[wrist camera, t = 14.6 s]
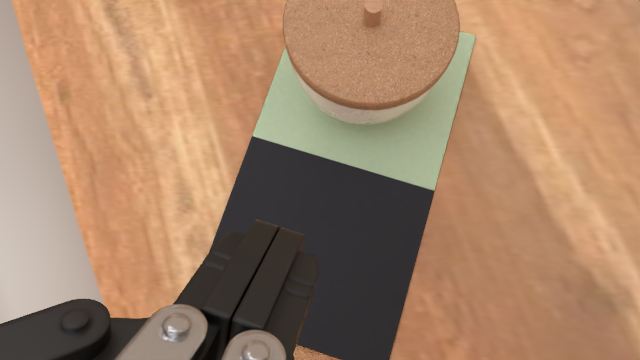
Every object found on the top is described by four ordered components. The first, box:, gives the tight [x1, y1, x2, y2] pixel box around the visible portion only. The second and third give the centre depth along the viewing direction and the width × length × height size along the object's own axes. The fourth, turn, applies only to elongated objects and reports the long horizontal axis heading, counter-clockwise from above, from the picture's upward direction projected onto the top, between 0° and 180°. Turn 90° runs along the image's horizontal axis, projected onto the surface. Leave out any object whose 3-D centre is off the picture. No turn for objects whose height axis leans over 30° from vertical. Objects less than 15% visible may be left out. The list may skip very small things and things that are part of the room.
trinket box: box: [283, 0, 460, 125], centre depth 30 cm, size 11×11×9 cm
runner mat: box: [209, 31, 476, 360], centre depth 34 cm, size 26×14×1 cm, turn 162°
